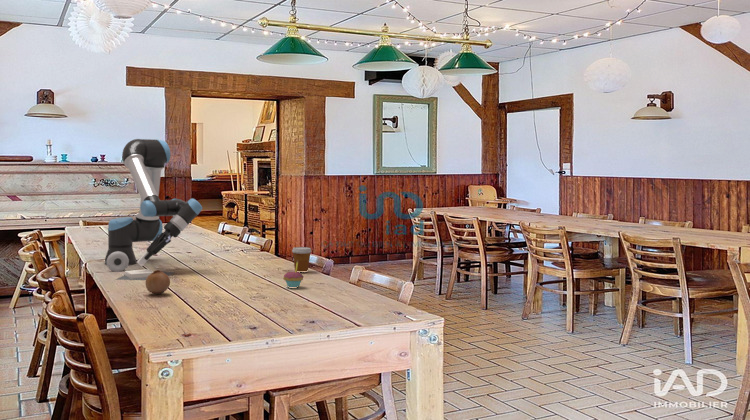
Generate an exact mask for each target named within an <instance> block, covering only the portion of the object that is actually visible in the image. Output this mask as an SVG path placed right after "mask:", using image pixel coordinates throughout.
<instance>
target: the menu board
mask: <svg viewBox="0 0 750 420" xmlns="http://www.w3.org/2000/svg"><path fill="white" fill-rule="evenodd" d="M123 271H124V272H123V273H124V275H125V276H127V277H129V278H131V279H132V278H145V277H148V276H149V275H150V274H152V273H153V272H154V271H155V270H154V271H153V270H152V269H148V268H147V269H135V270H134V269H133V270H123ZM124 275H123V276H124Z"/></svg>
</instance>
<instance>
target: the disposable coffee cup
mask: <svg viewBox="0 0 750 420" xmlns="http://www.w3.org/2000/svg"><path fill="white" fill-rule="evenodd" d="M291 252H292V256H293V265H294V266H293V268H294V270H295V269H296V263H297V261H298V266H297V271H307V270H308V271H309V265H310V260H311V253H312V249H311V247H305V246H297V247H296V246H295V247H293V248H292V250H291Z"/></svg>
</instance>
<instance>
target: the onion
mask: <svg viewBox="0 0 750 420" xmlns="http://www.w3.org/2000/svg"><path fill="white" fill-rule="evenodd" d="M163 272H164V271H161V270H159V269H156V270H154V272H153V273H152V274H150V275H149V276H148V277H147V279H146V280H145V282H144V283H145V287H146V289H147V291H148V293H151V294H154V295H162V294H163V293H165V292H166V291H167V290H168V289H169V287H170V284H171V278H170V277H169V276H168V275H166V274H165V273H163Z"/></svg>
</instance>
